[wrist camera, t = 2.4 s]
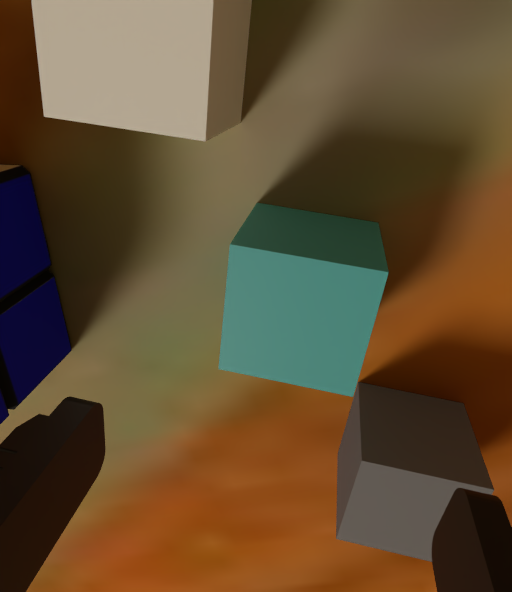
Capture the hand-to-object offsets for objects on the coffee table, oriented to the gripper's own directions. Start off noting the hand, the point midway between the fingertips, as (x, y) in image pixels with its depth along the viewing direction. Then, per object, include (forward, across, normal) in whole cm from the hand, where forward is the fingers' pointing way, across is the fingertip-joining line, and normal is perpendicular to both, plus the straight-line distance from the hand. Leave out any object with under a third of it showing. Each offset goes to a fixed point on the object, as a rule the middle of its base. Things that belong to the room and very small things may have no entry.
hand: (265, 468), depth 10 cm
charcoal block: (+11, -6, +8) cm, 15 cm away
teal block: (+11, 0, 0) cm, 11 cm away
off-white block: (+11, +6, -8) cm, 15 cm away
